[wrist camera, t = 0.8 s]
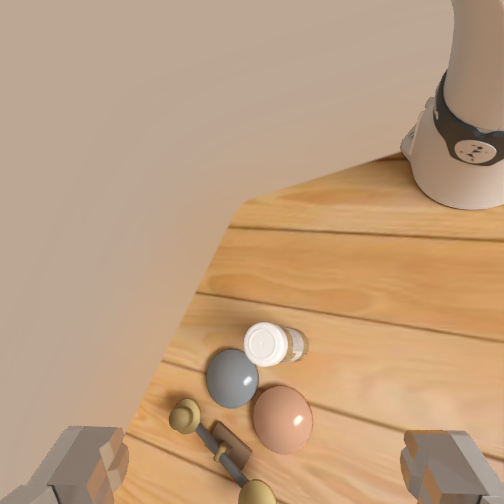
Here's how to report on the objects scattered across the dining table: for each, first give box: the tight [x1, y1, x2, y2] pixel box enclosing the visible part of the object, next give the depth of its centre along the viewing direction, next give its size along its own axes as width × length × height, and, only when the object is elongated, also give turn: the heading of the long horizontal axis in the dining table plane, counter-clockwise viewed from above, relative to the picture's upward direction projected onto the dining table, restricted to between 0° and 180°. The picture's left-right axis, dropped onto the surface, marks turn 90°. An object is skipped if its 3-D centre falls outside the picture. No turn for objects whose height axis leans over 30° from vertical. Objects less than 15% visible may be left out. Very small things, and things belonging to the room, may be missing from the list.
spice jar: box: [243, 322, 309, 367], centre depth 37 cm, size 5×5×13 cm
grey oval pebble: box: [207, 350, 259, 409], centre depth 45 cm, size 8×8×1 cm
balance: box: [169, 399, 277, 504], centre depth 41 cm, size 5×19×5 cm, turn 58°
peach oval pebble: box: [253, 386, 313, 454], centre depth 41 cm, size 8×8×1 cm
